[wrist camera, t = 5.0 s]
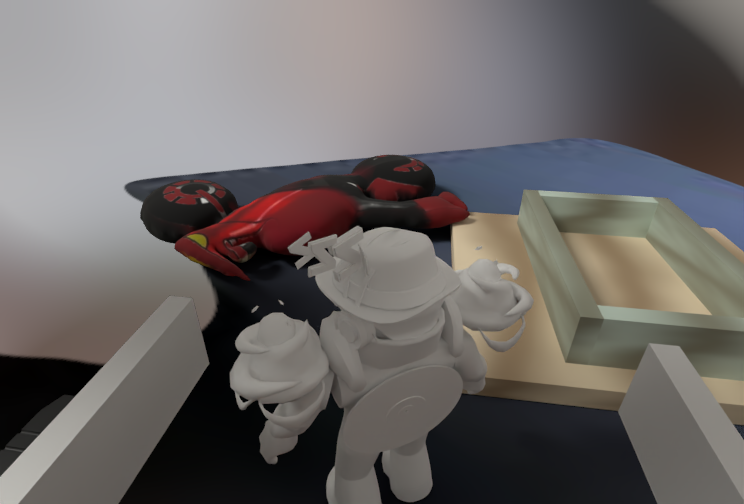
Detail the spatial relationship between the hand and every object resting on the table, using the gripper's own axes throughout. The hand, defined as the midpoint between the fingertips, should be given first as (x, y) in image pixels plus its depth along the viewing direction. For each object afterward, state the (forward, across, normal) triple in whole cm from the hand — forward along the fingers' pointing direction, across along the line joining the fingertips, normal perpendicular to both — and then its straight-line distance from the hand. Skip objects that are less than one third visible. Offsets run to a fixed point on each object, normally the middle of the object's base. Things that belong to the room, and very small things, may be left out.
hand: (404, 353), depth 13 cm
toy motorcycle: (+20, -8, -7) cm, 23 cm away
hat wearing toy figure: (0, 0, -7) cm, 7 cm away
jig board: (+14, +12, -7) cm, 20 cm away
